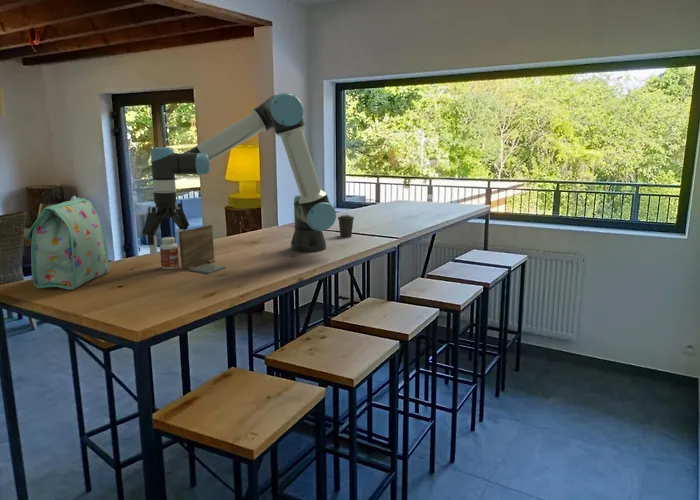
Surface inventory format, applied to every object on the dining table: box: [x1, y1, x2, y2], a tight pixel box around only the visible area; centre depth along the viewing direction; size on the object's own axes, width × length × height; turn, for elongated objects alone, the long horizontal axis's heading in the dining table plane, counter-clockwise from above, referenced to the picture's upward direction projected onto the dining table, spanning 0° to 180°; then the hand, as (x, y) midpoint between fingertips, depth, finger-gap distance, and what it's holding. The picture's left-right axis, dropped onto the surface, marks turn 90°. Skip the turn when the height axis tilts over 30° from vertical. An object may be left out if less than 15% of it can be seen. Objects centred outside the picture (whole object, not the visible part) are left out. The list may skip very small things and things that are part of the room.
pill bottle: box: [159, 236, 180, 270], centre depth 185 cm, size 6×6×11 cm
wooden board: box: [179, 224, 216, 271], centre depth 188 cm, size 4×16×14 cm, turn 155°
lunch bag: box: [25, 197, 111, 290], centre depth 166 cm, size 23×16×27 cm
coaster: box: [188, 263, 226, 275], centre depth 184 cm, size 9×9×1 cm
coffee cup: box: [337, 214, 355, 238], centre depth 244 cm, size 8×8×10 cm
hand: (168, 250), depth 184 cm, fingers open, 13 cm apart
